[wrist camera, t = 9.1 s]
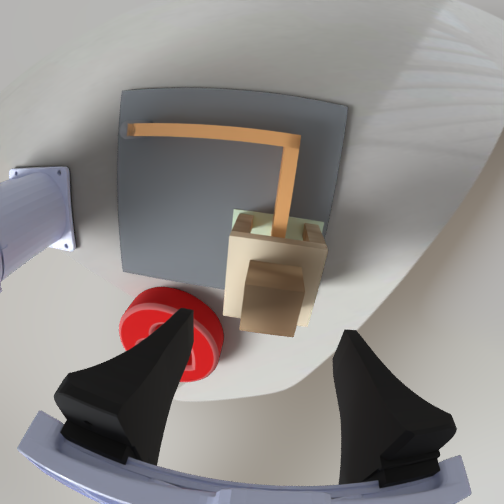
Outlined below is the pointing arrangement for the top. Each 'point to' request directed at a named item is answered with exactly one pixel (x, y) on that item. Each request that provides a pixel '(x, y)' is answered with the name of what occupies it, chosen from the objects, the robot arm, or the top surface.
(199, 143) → the mat
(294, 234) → the end pad
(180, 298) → the decorative ornament
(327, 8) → the top surface
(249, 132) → the rail
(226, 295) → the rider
